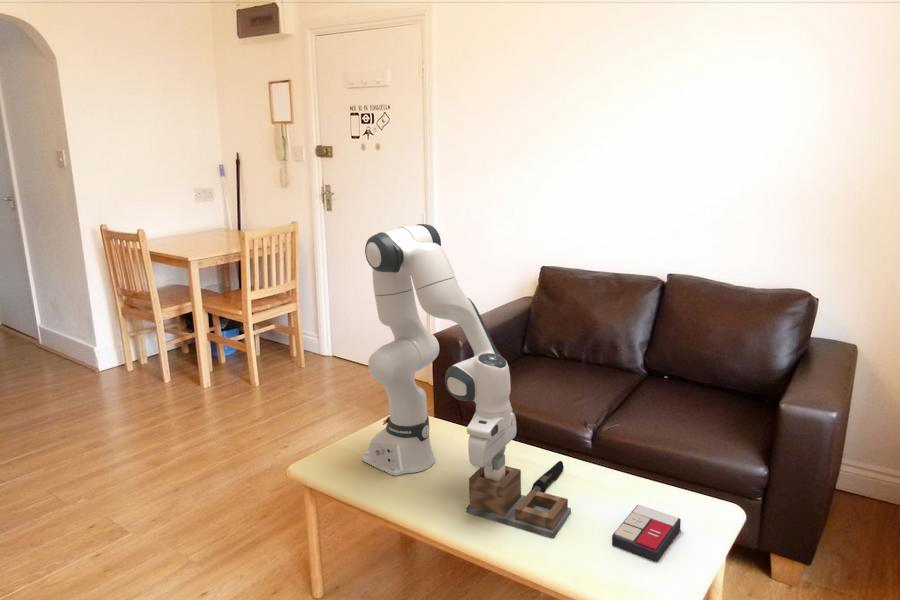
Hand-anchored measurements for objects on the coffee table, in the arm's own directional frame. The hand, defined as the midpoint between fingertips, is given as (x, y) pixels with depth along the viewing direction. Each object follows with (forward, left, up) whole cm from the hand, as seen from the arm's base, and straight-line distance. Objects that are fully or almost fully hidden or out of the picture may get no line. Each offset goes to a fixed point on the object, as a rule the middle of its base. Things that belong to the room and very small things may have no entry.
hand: (494, 466), depth 166 cm
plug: (0, 0, -5) cm, 5 cm away
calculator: (+38, +5, -12) cm, 40 cm away
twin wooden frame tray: (+7, 0, -12) cm, 13 cm away
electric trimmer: (+7, +18, -12) cm, 23 cm away
